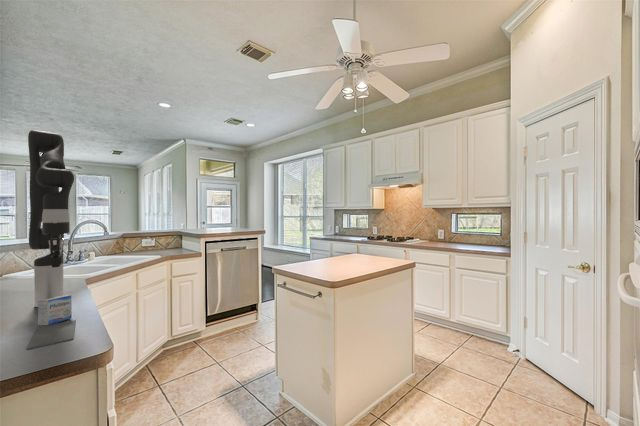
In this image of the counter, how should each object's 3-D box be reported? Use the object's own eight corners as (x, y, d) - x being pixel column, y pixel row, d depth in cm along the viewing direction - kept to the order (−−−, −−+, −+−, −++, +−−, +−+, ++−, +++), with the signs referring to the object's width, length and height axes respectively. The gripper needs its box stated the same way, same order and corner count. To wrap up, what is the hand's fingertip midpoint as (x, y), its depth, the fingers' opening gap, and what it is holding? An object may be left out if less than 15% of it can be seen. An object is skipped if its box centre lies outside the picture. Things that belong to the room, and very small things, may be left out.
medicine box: (47, 326, 97) (47, 300, 97) (37, 325, 98) (37, 300, 98) (72, 318, 104) (72, 294, 105) (62, 318, 105) (62, 294, 106)
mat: (36, 328, 96) (36, 327, 96) (75, 321, 102) (75, 320, 102) (26, 349, 80) (26, 348, 80) (73, 339, 87) (73, 338, 87)
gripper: (44, 221, 110) (45, 264, 110) (39, 222, 99) (40, 270, 99) (70, 220, 114) (70, 262, 114) (68, 221, 103) (68, 267, 103)
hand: (56, 265), depth 106 cm, fingers open, 5 cm apart
